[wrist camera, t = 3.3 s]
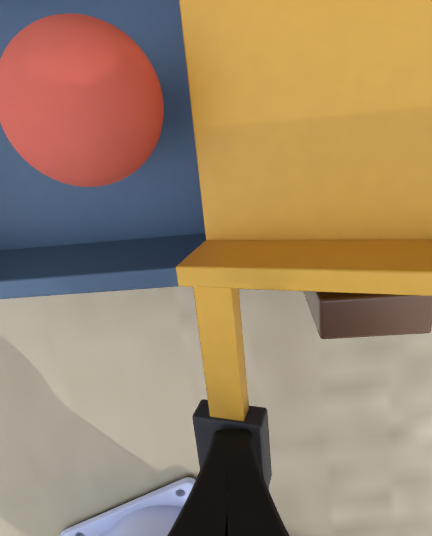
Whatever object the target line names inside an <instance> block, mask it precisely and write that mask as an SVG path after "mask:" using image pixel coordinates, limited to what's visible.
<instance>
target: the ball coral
mask: <svg viewBox="0 0 432 536" xmlns="http://www.w3.org/2000/svg"><path fill="white" fill-rule="evenodd" d="M163 115H164V103H163V95H162V91H161V86H160V83H159V80H158V77H157V74H156V72H155V70H154V68H153V66H152V64H151V63H150V61H149V59H148V58H147V56H146V55H145V54H144V52H143V51H142V50H141V48H140V47H139V46H138V45H137V44H136V43H135V42H134V41H133V40H132V39H131V38H130V37H129V36H128V35H126V34H125V33H124V32H123V31H121V30H120V29H118V28H117V27H115V26H114V25H112V24H110V23H107V22H105V21H103V20H101V19H98V18H95V17H92V16H88V15H83V14H72V13H66V14H57V15H51V16H47V17H44V18H41V19H39V20H37V21H35V22H32V23H31V24H30V25H28V26H27V27H25V28H24V29H22V30H21V31H20V32H19V33H18V34H17V35H16V36H15V37H14V38H13V39H12V40H11V41H10V43H9V44H8V45H7V47H6V48H5V50H4V52H3V54H2V56H1V58H0V123H1V125H2V128H3V130H4V132H5V134H6V136H7V138H8V139H9V141H10V143H11V144H12V145H13V147H14V148H15V150H16V151H17V152H18V153H19V154H20V155H21V156H22V158H23V159H24V160H25V161H27V162H28V163H29V164H30V165H31V166H32V167H34V168H35V169H37V170H38V171H40V172H41V173H42V174H44V175H46V176H48V177H50V178H52V179H54V180H57V181H59V182H62V183H65V184H69V185H74V186H82V187H98V186H104V185H108V184H112V183H115V182H117V181H120V180H122V179H124V178H126V177H128V176H129V175H131V174H132V173H134V172H135V171H136V170H137V169H139V168H140V167H141V166H142V165H143V164H144V162H145V161H146V160H147V159H148V158H149V156H150V155H151V153H152V152H153V150H154V148H155V146H156V144H157V142H158V139H159V136H160V133H161V129H162V124H163Z"/></svg>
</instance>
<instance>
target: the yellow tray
mask: <svg viewBox="0 0 432 536" xmlns="http://www.w3.org/2000/svg"><path fill="white" fill-rule="evenodd" d="M179 4H180V13H181V22H182V30H183V39H184V48H185V57H186V66H187V75H188V84H189V92H190V101H191V110H192V119H193V128H194V137H195V146H196V155H197V163H198V172H199V181H200V190H201V199H202V208H203V217H204V226H205V234H206V241H204V242H203V243H202V244H201V245H200V246H199V247H198V248H196V249H195V250H194V251H193V252H192V253H191V254H190V255H189V256H187V257H186V258H185V259H184V260H183V261H182V262H181V263H180V264H178V265H177V266H176V273H177V280H178V285H179V286H187V287H193V289H194V297H195V305H196V313H197V320H198V328H199V336H200V343H201V351H202V359H203V367H204V374H205V382H206V390H207V397H208V400H204V399H203V400H201V401H200V403H199V405H198V407H197V409H196V411H195V413H194V414H193V424H194V431H195V438H196V444H197V451H198V458H199V465H200V469H201V467H202V465H203V462H204V460H205V457H206V454H207V452H208V449H209V446H210V443H211V439H212V436H213V433H214V432H215V431H216V430H231V429H248V430H249V431H250V432H251V433H252V437H253V444H254V448H255V452H256V456H257V460H258V463H259V466H260V469H261V472H262V475H263V478H264V480H265V483H266V485H267V488H269V484H270V480H271V475H272V473H271V458H270V444H269V429H268V415H267V409H266V408H263V407H255V406H249V403H248V391H247V380H246V369H245V357H244V346H243V335H242V323H241V312H240V301H239V289H264V290H290V291H316V292H342V293H368V294H394V295H420V296H432V0H179ZM238 288H239V289H238Z"/></svg>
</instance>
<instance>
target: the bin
mask: <svg viewBox="0 0 432 536" xmlns="http://www.w3.org/2000/svg"><path fill="white" fill-rule="evenodd" d="M66 13H72V14H83V15H88V16H92V17H95V18H98V19H101V20H103V21H105V22H107V23H110V24H112V25H114V26H115V27H117V28H118V29H120V30H121V31H123V32H124V33H125V34H126V35H128V36H129V37H130V38H131V39H132V40H133V41H134V42H135V43H136V44H137V45H138V46H139V47H140V48H141V50H142V51H143V52H144V54H145V55H146V56H147V58H148V59H149V61H150V63H151V64H152V66H153V68H154V70H155V72H156V74H157V77H158V80H159V83H160V86H161V91H162V95H163V103H164V115H163V124H162V129H161V133H160V136H159V139H158V142H157V144H156V146H155V148H154V150H153V152H152V153H151V155H150V156H149V158H148V159H147V160H146V161H145V162H144V164H143V165H142V166H141V167H140V168H139V169H137V170H136V171H135V172H134V173H132V174H131V175H129V176H128V177H126V178H124V179H122V180H120V181H117V182H115V183H112V184H108V185H104V186H98V187H82V186H74V185H69V184H65V183H62V182H59V181H57V180H54V179H52V178H50V177H48V176H46V175H44V174H42V173H41V172H40V171H38V170H37V169H35V168H34V167H32V166H31V165H30V164H29V163H28V162H27V161H25V160H24V159H23V158H22V156H21V155H20V154H19V153H18V152H17V151H16V150H15V148H14V147H13V145H12V144H11V143H10V141H9V139H8V138H7V136H6V134H5V132H4V130H3V128H2V125H1V123H0V299H7V298H21V297H35V296H49V295H63V294H77V293H91V292H105V291H118V290H132V289H146V288H160V287H174V286H179V285H178V280H177V273H176V266H177V265H178V264H180V263H181V262H182V261H183V260H184V259H185V258H186V257H187V256H189V255H190V254H191V253H192V252H193V251H194V250H195V249H196V248H198V247H199V246H200V245H201V244H202V243H203V242H204V241H206V234H205V226H204V217H203V208H202V199H201V190H200V181H199V172H198V163H197V155H196V146H195V137H194V128H193V119H192V110H191V101H190V92H189V84H188V75H187V66H186V57H185V48H184V39H183V30H182V22H181V13H180V4H179V0H0V58H1V56H2V54H3V52H4V50H5V48H6V47H7V45H8V44H9V43H10V41H11V40H12V39H13V38H14V37H15V36H16V35H17V34H18V33H19V32H20V31H21V30H22V29H24V28H25V27H27V26H28V25H30V24H31V23H32V22H35V21H37V20H39V19H41V18H44V17H47V16H51V15H57V14H66Z"/></svg>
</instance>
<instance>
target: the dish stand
mask: <svg viewBox="0 0 432 536" xmlns="http://www.w3.org/2000/svg"><path fill="white" fill-rule="evenodd" d="M303 292H304V294H305V297H306V300H307V303H308V305H309V308H310V311H311V314H312V317H313V319H314V322H315V325H316V328H317V330H318V333H319V336H320V338H321V339H335V338H352V337H369V336H385V335H402V334H419V333H429V332H431V325H432V296H420V295H394V294H368V293H342V292H316V291H303Z"/></svg>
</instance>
